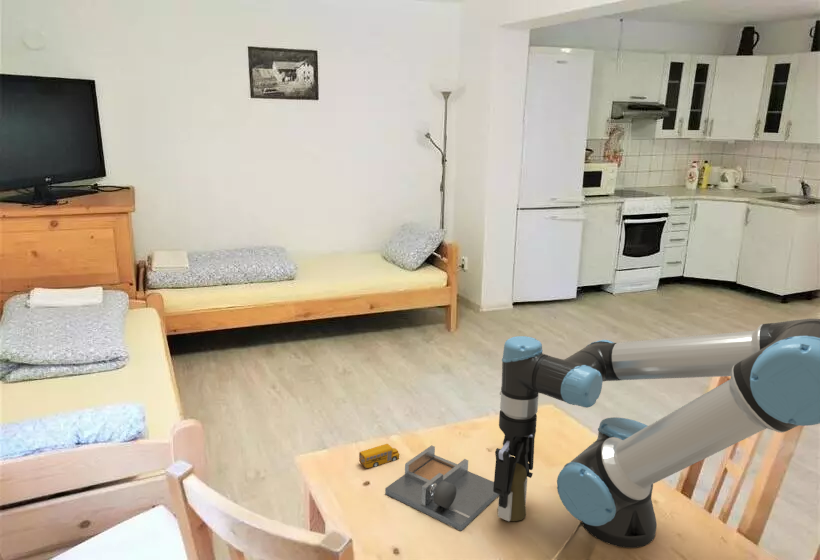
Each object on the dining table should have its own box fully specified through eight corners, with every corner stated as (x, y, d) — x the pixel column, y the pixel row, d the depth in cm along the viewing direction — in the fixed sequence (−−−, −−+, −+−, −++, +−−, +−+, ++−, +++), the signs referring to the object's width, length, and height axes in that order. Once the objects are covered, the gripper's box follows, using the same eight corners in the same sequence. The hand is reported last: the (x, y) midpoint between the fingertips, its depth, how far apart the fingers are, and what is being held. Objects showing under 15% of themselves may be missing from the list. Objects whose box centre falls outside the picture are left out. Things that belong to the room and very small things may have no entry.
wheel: (455, 501, 130) (456, 480, 129) (442, 512, 126) (443, 491, 125) (444, 496, 132) (445, 476, 131) (431, 507, 128) (432, 486, 127)
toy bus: (399, 459, 149) (400, 446, 148) (364, 471, 144) (365, 456, 143) (393, 453, 152) (393, 440, 151) (358, 464, 147) (358, 450, 146)
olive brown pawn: (503, 500, 134) (506, 455, 131) (530, 509, 131) (533, 463, 128) (492, 514, 129) (495, 468, 126) (519, 524, 126) (523, 477, 123)
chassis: (502, 491, 137) (504, 468, 136) (460, 531, 124) (462, 505, 122) (430, 461, 149) (431, 439, 147) (385, 494, 135) (385, 470, 134)
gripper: (523, 391, 133) (516, 484, 139) (478, 423, 119) (473, 525, 124) (555, 400, 129) (547, 496, 135) (512, 435, 114) (505, 541, 120)
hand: (511, 510), depth 129 cm, fingers closed on olive brown pawn, 6 cm apart
